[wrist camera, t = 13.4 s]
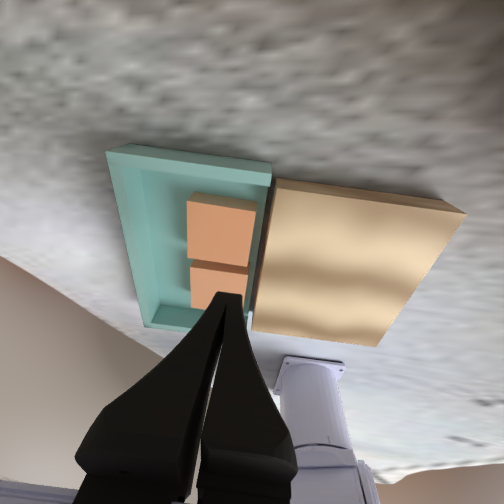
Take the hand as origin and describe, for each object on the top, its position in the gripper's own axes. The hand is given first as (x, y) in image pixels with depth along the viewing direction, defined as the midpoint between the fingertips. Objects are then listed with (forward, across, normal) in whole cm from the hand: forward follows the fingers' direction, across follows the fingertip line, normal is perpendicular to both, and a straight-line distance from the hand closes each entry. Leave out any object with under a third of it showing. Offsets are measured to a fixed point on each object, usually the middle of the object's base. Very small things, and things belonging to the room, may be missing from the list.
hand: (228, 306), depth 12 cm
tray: (+9, +4, +3) cm, 10 cm away
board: (+9, -8, +3) cm, 13 cm away
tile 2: (+8, +2, +6) cm, 10 cm away
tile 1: (+8, +2, 0) cm, 8 cm away
